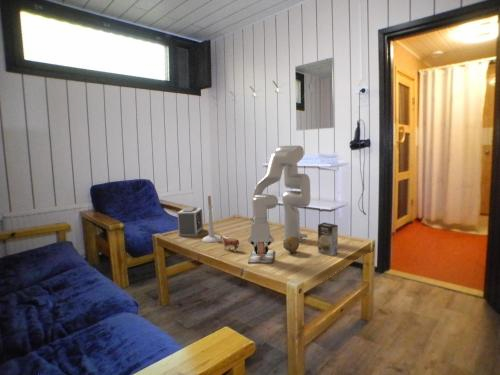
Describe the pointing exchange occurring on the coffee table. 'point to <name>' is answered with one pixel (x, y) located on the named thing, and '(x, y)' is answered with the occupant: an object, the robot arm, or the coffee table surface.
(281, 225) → the coffee table surface
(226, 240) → the bull figurine
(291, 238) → the natural sponge
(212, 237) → the candlestick
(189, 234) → the alarm clock
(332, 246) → the coffee box
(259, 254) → the pawn
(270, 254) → the board
